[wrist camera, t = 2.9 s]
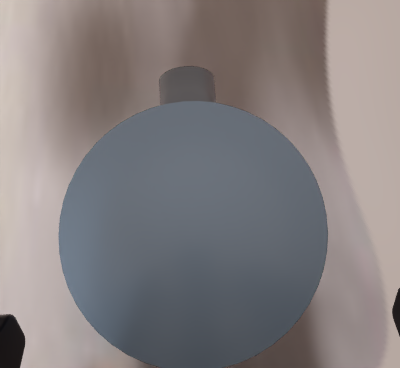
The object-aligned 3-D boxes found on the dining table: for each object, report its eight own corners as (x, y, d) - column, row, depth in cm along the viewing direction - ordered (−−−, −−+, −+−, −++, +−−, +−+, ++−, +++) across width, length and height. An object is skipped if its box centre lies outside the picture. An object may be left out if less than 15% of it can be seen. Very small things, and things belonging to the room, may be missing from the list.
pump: (258, 299, 17) (347, 360, 6) (161, 306, 18) (56, 381, 6) (244, 169, 19) (295, 6, 7) (155, 176, 19) (60, 26, 7)
